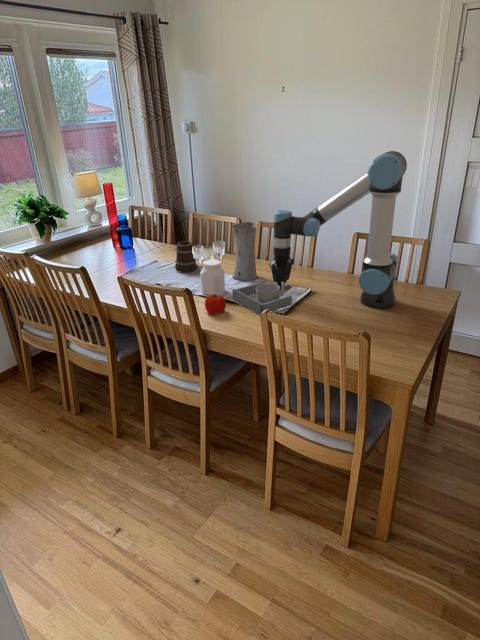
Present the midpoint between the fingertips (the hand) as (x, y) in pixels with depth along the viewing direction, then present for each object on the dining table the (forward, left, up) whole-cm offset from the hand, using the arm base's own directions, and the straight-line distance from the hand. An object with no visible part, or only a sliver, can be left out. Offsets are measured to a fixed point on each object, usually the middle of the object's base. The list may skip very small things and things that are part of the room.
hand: (280, 295), depth 205 cm
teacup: (0, +7, -2) cm, 7 cm away
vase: (+32, -2, -2) cm, 32 cm away
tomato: (+5, +32, -2) cm, 33 cm away
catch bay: (+1, +11, -2) cm, 11 cm away
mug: (+64, +14, -2) cm, 65 cm away
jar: (+26, +21, -2) cm, 33 cm away
